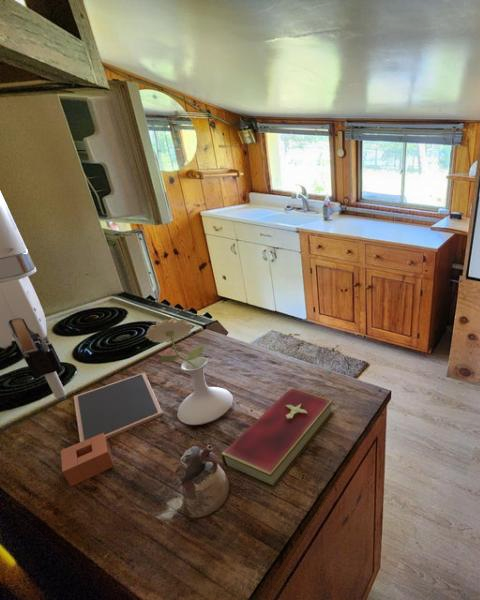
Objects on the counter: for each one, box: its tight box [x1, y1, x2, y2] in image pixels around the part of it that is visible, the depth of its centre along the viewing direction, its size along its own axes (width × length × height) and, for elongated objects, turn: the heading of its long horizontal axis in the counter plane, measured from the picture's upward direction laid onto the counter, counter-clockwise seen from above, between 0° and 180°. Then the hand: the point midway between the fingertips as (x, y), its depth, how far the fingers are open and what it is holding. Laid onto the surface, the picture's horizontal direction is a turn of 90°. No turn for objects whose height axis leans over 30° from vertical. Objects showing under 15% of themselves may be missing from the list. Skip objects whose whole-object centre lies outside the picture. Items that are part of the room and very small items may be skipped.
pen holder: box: [60, 433, 115, 487], centre depth 62 cm, size 6×6×4 cm
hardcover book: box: [220, 386, 334, 490], centre depth 70 cm, size 12×21×4 cm, turn 159°
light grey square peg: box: [35, 341, 67, 401], centre depth 55 cm, size 1×1×12 cm
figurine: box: [175, 444, 230, 519], centre depth 56 cm, size 7×7×12 cm
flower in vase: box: [144, 317, 234, 426], centre depth 71 cm, size 13×11×25 cm
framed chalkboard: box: [73, 372, 164, 443], centre depth 77 cm, size 14×20×1 cm
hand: (47, 369), depth 55 cm, fingers closed on light grey square peg, 1 cm apart
